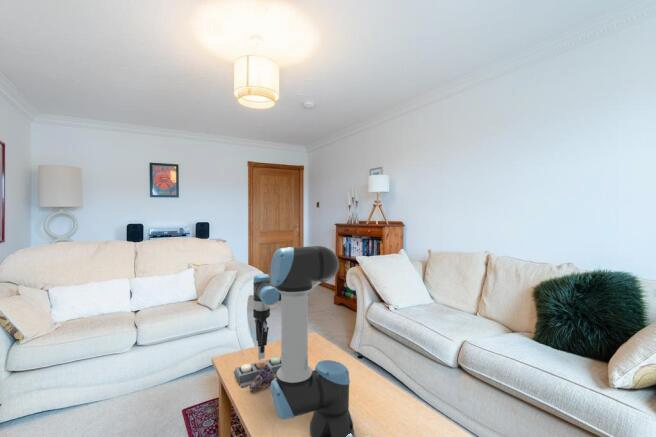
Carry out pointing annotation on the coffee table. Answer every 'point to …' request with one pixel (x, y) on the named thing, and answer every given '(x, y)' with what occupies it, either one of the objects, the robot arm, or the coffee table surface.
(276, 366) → the button panel
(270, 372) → the purple lumpy piece
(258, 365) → the button terracotta
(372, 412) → the coffee table surface
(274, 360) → the button sage
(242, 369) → the button cream
